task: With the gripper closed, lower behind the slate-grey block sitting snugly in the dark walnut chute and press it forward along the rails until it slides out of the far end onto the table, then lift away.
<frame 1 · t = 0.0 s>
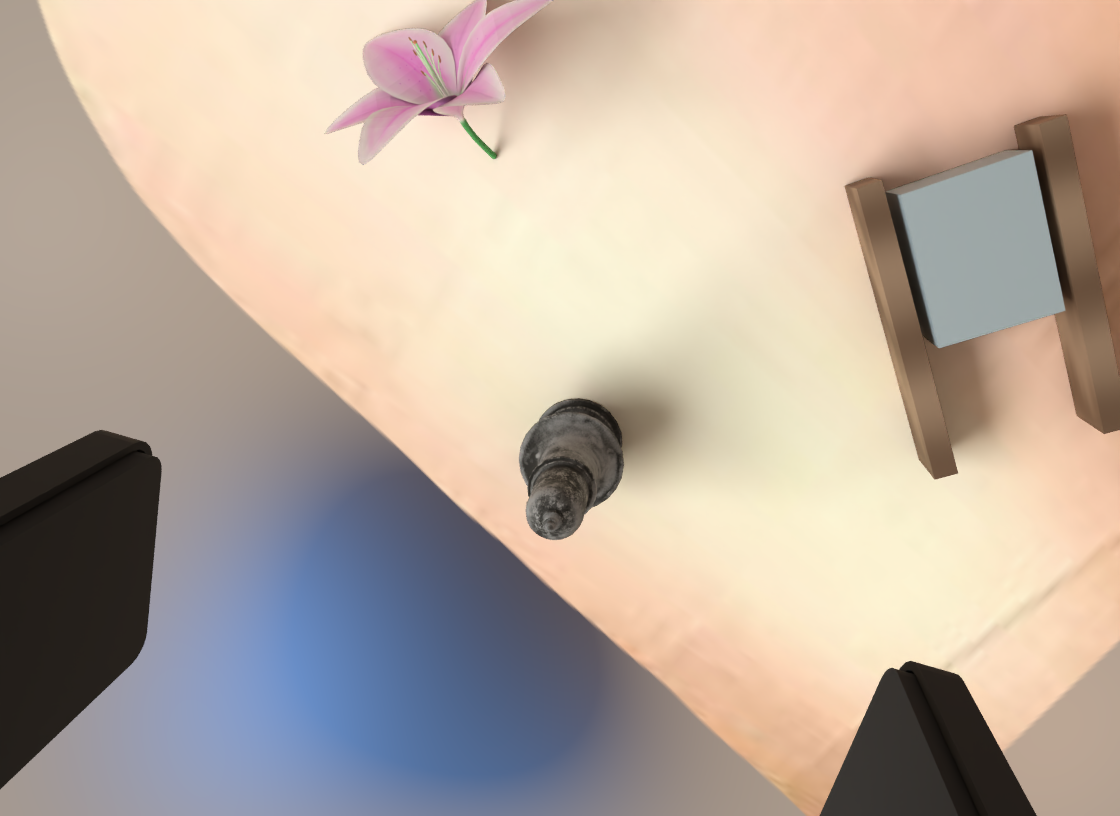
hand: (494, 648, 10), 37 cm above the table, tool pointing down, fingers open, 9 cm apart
walnut chute: (975, 299, 44), on the table
slate block: (960, 245, 43), on the table
salt shaker: (578, 439, 49), on the table
lily: (461, 82, 44), on the table
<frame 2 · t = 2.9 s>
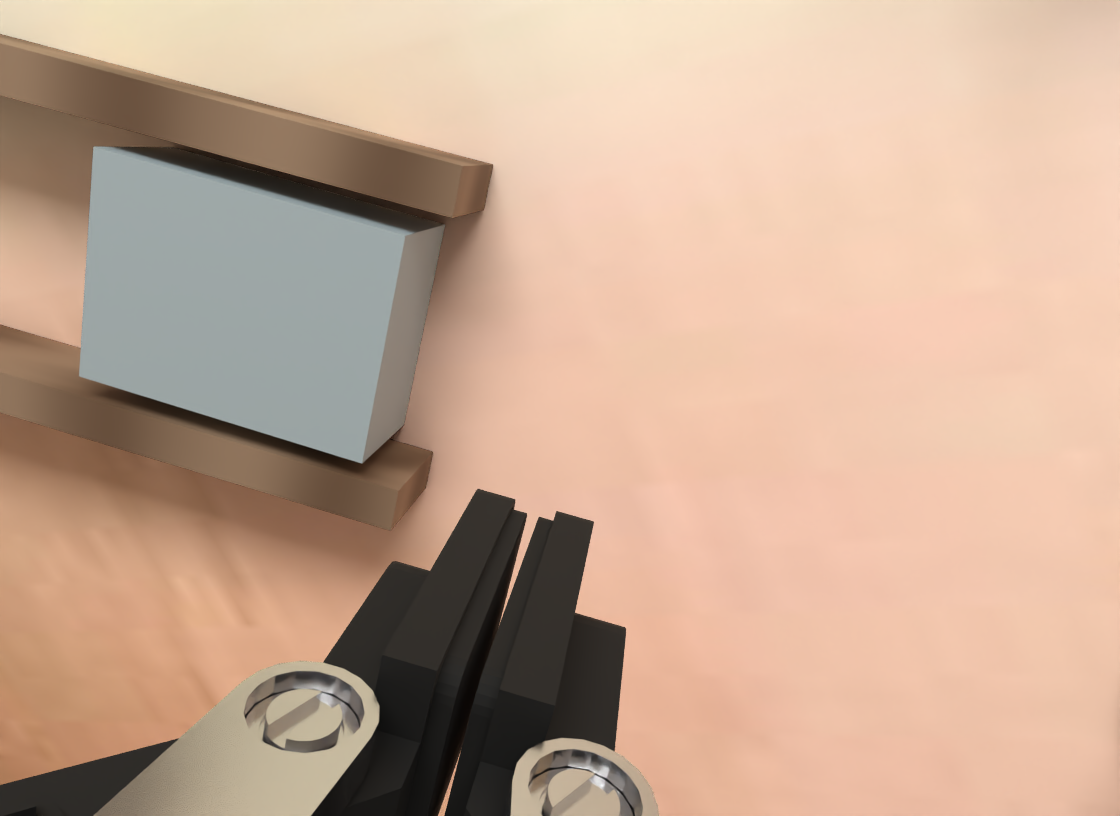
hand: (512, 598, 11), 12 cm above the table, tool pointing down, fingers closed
walnut chute: (194, 262, 24), on the table
slate block: (296, 288, 24), on the table
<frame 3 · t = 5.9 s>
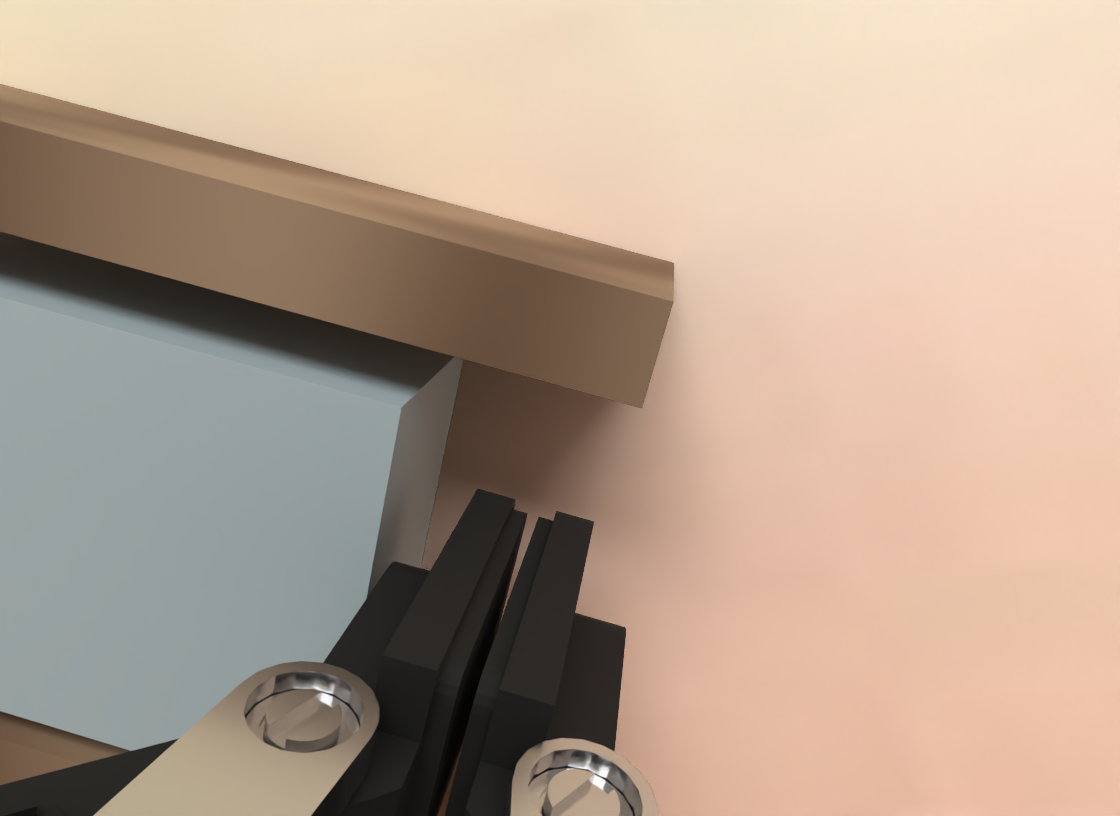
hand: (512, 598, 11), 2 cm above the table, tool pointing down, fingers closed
walnut chute: (109, 424, 13), on the table
slate block: (209, 446, 14), on the table, touching gripper
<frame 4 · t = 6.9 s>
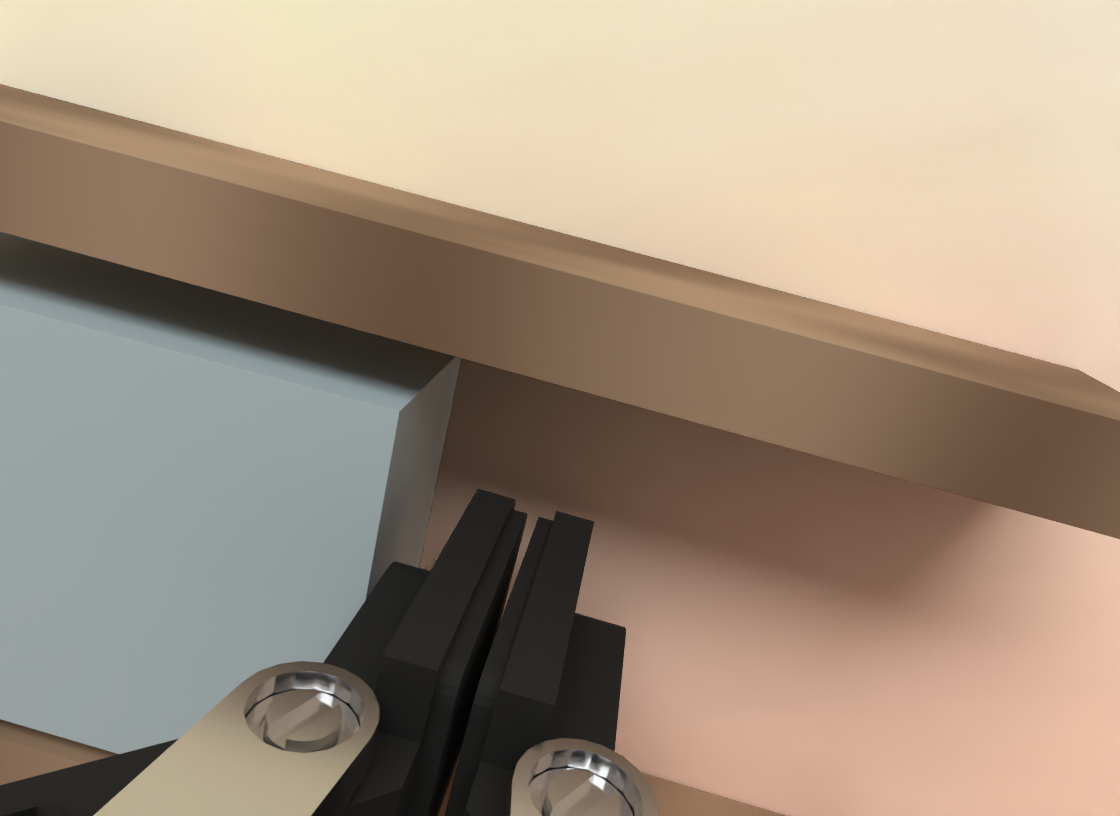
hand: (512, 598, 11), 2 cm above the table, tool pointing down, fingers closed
walnut chute: (442, 519, 13), on the table
slate block: (206, 451, 14), on the table, touching gripper
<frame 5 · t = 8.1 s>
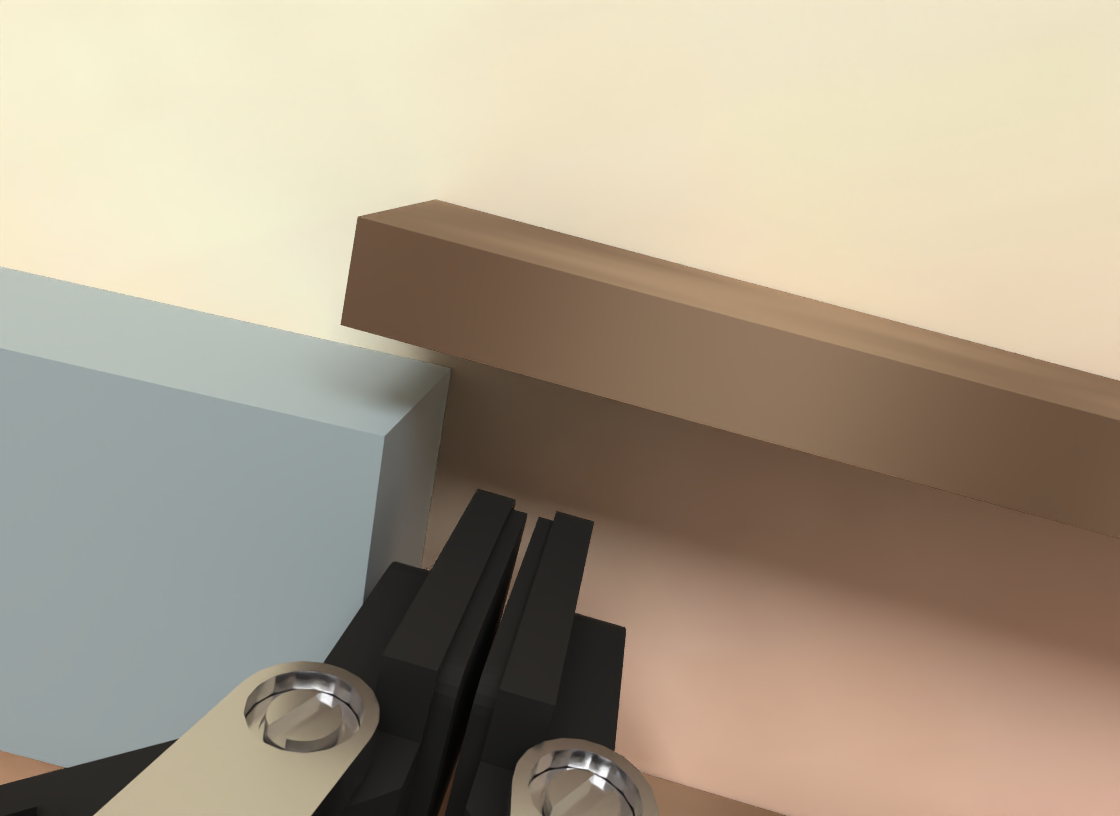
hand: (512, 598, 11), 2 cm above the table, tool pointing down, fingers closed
walnut chute: (873, 642, 13), on the table
slate block: (203, 477, 14), on the table, touching gripper
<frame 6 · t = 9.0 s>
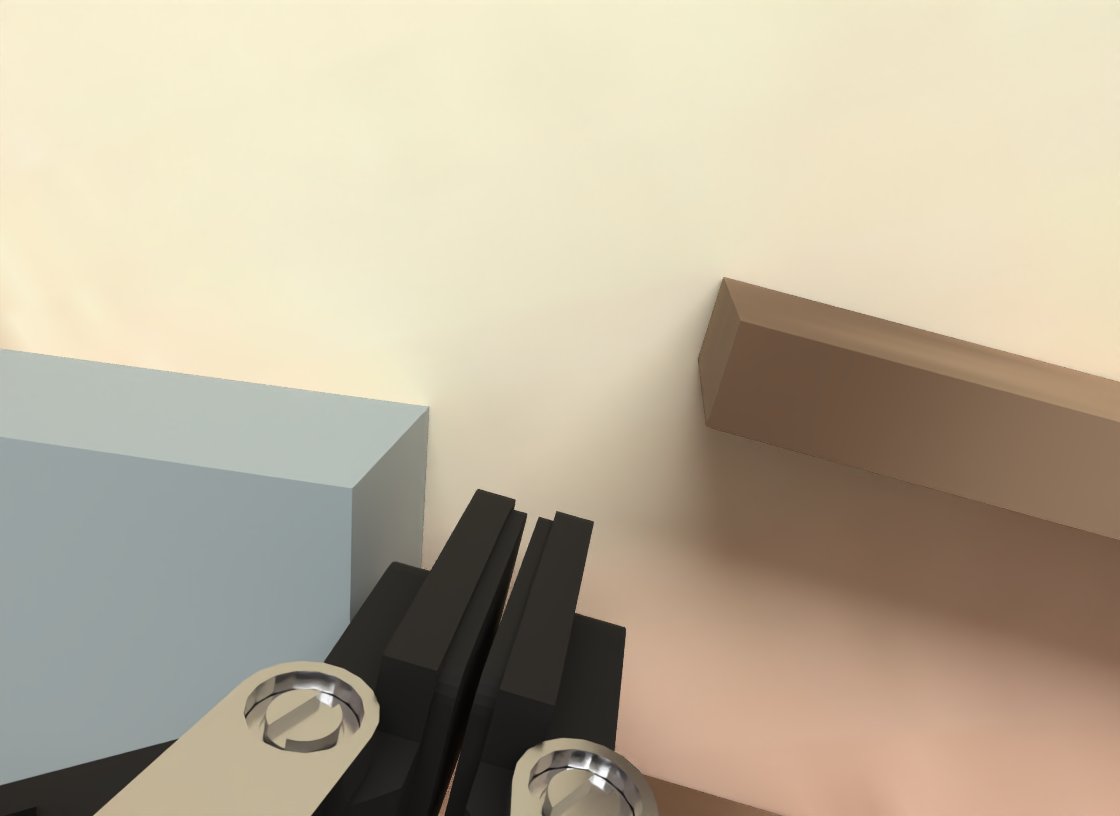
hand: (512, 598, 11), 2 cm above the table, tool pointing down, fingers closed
slate block: (200, 535, 14), on the table, touching gripper
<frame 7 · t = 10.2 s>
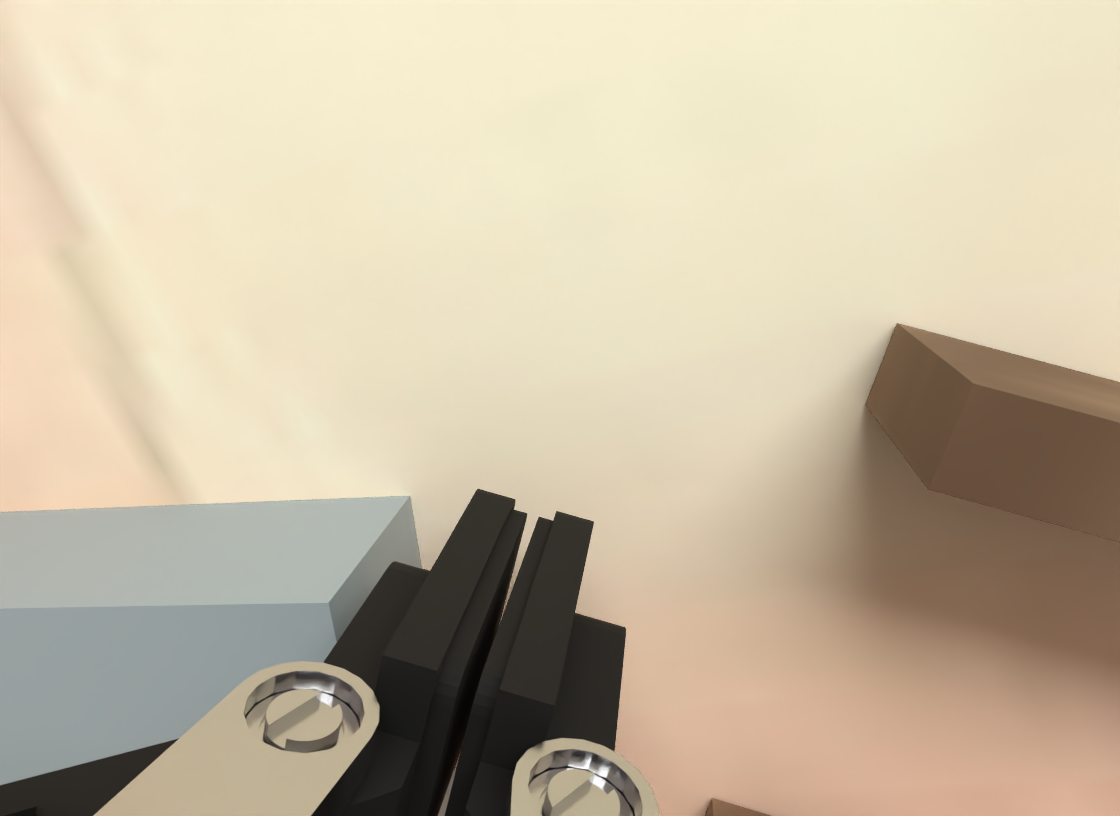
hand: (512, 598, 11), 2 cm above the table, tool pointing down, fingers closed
slate block: (225, 652, 15), on the table
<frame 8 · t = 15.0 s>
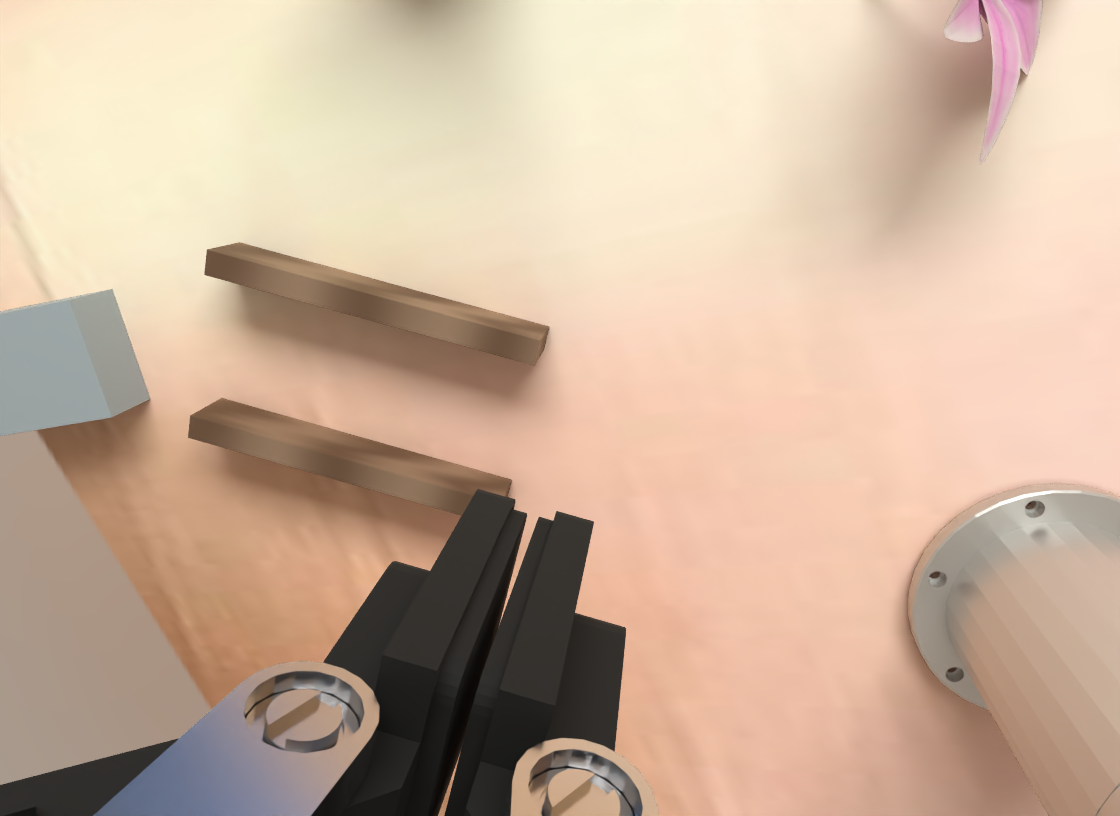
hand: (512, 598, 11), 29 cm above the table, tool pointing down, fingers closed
walnut chute: (376, 374, 42), on the table
slate block: (69, 355, 44), on the table
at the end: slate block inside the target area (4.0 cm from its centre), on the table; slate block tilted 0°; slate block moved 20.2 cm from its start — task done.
